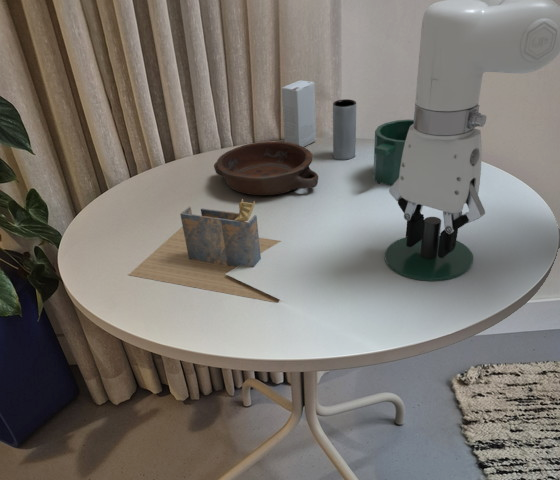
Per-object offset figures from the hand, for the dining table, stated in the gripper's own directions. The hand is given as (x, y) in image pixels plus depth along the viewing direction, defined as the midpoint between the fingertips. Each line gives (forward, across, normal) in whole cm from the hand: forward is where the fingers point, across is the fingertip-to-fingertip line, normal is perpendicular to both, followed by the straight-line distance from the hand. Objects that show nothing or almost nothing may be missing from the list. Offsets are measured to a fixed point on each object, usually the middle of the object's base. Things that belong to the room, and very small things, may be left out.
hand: (429, 247), depth 83 cm
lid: (+2, 0, 0) cm, 2 cm away
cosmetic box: (+3, +48, -26) cm, 55 cm away
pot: (+2, +20, -24) cm, 31 cm away
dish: (+3, +40, -7) cm, 41 cm away
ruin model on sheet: (+3, +25, +18) cm, 31 cm away
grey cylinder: (+3, +36, -26) cm, 44 cm away
